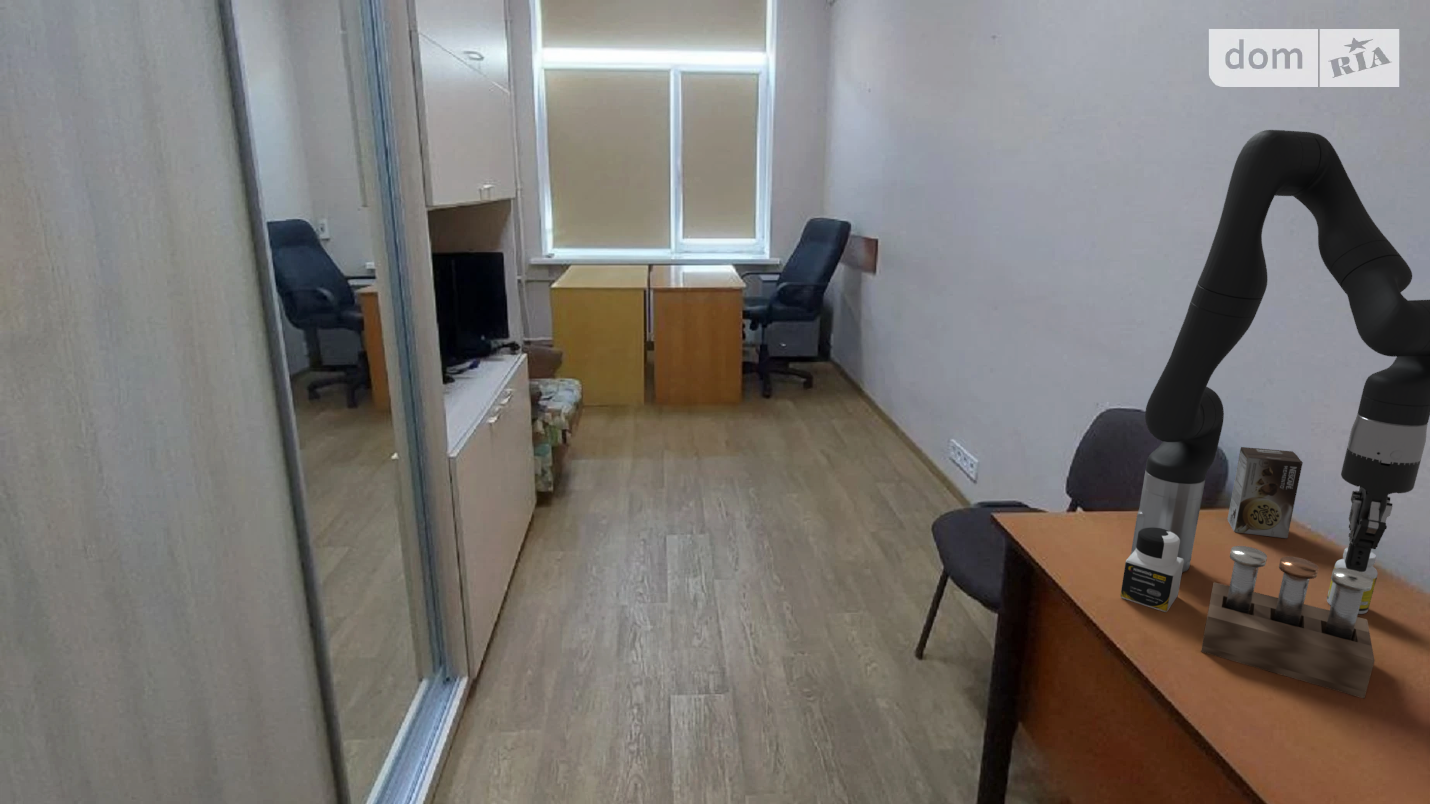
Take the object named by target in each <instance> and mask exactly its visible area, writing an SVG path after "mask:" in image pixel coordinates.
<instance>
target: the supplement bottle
mask: <svg viewBox="0 0 1430 804" xmlns="http://www.w3.org/2000/svg"><path fill="white" fill-rule="evenodd" d="M1347 551H1348V547H1345V548H1344V550H1343V554H1342V558H1341V559H1338V560H1337V561H1335V563H1334V567H1333V569H1335V568H1346V564H1345V560H1346V555H1347ZM1376 560H1377V555H1376V554H1375V553H1374V552H1373V551H1371V553H1370V557H1369V560H1368V564H1367V568H1366V571H1364V572H1363V573H1365V574H1367V575H1369V576H1370V577H1371V578H1372V579H1373V584H1372V588H1371V590H1369V591H1364V592H1363V595H1362V599H1361V603H1360V607H1359V611H1358V615H1363V614H1366V613H1367V612H1368V611H1369V608H1370V605H1371V601H1372V598H1373V594H1374V590H1375V586H1376V582H1377V579H1378V575H1379V574H1378V570H1377V569H1376V568H1375V567H1374V565H1375V564H1376ZM1335 587H1336V584H1335V583H1334V582H1333V581H1332V580H1331V579H1330V584H1329V588H1328V593H1327V596H1326V601H1327V603H1328V605H1330V606H1331V603H1332V599H1333V595H1334V591H1335Z"/></svg>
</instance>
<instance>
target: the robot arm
mask: <svg viewBox="0 0 1430 804" xmlns="http://www.w3.org/2000/svg"><path fill="white" fill-rule="evenodd" d="M1276 196H1277V197H1279V196H1280V197H1294V198H1295V199H1296V200H1298V201H1299V202H1300V203H1301V204H1302V205H1303V206H1304V207H1305V208H1306V209H1307V210H1308V211H1309V212H1310V213H1311V215H1312V216H1313V218H1314V220H1315V221H1316V222H1315V223H1316V225H1317V242H1318V243H1317V244H1318V251H1319V254H1320V257H1321V260H1322V263H1323V264H1324V266H1325V267H1326V269H1327V270H1328V271H1329V273H1330V274H1331V276H1332V277H1333V278H1334V280H1335V281H1336V282H1337V284H1338V285H1339V286H1340V288H1341V290H1342V291H1343V292H1344V293H1345V294H1346V295H1347V299H1348V302H1349V308H1350V311H1351V314H1352V318H1353V320H1354V324H1355V326H1356V330H1357V333H1358V335H1359V338H1360V339H1361V341H1362V342H1363V343H1364V344H1365V345H1366V346H1367V347H1369V348H1370V349H1371V350H1373V351H1374V352H1375V353H1377V354H1380V355H1382V356H1387V357H1395V360H1394V361H1393V363H1392V364H1391V365H1390V366H1389V367H1387V368H1385V369H1382V370H1379V371H1377V372H1374V373H1372V374H1370V375H1368V377H1367V379H1366V380H1365V382H1364V385H1363V389H1362V393H1361V397H1360V400H1359V401H1360V402H1359V406H1358V411H1357V414H1356V417H1355V420H1354V421H1353V424H1352V427H1351V431H1350V433H1349V438H1348V442H1347V446H1346V450H1345V455H1344V460H1343V463H1342V467H1341V472H1340V476H1341V479H1343V480H1344V481H1345V482H1346V483H1349V484H1350V485H1352V486H1355V487H1357V488H1358V487H1359V488H1358V489H1359V490H1352V491H1351V496H1350V502H1351V506H1350V511H1349V517H1348V522H1349V524H1348V528H1349V531H1350V532H1348V537H1349V543H1348V547H1347V548H1348V551H1347V555H1346V560H1345V564H1346V568H1348V569H1350V570H1355V571H1360V572H1364V571H1366V568H1367V564H1368V560H1369V557H1370V553H1371V552H1372V550H1377V548H1378V546H1379V543H1380V541H1381V539H1382V538H1383V535H1384V533H1385V531H1386V530H1387V529H1388V528H1387V527H1388V526H1387V519H1388V518H1389V517H1390V516H1391V514H1392V510H1393V503H1392V502H1391V496H1389V495H1392V494H1406V493H1409V492H1411V491H1412V490H1414V488H1415V484H1416V480H1417V477H1418V473H1419V470H1420V464H1421V461H1422V458H1423V454H1424V449H1425V446H1426V442H1427V441H1426V440H1427V429H1428V423H1429V421H1430V299H1414V300H1410V299H1409V300H1408V299H1407V298H1406V297H1405V296H1403V294H1402V292H1403V291H1404V290H1406V289H1407V288H1408V287H1409V285H1411V282H1412V280H1413V271H1412V269H1411V268H1410V266H1409V265H1408V263H1407V262H1406V260H1405V259H1404V258H1403V257H1402V256H1401V254H1400V253H1399V252H1398V251H1397V249H1396V248H1395V247H1394V246H1393V244H1392V243H1391V241H1389V240H1388V239H1387V237H1386V236H1385V235H1384V234H1383V232H1382V231H1381V230H1380V229H1379V227H1378V226H1377V224H1375V222H1374V220H1373V219H1372V218H1371V216H1370V214H1369V212H1368V210H1367V209H1366V208H1365V205H1364V204H1363V202H1362V201H1361V198H1360V196H1359V195H1358V192H1357V191H1356V189H1355V187H1354V185H1353V183H1352V181H1351V179H1350V177H1349V175H1348V173H1347V171H1346V168H1345V167H1344V164H1343V163H1342V160H1341V159H1340V157H1339V155H1338V152H1337V151H1336V150H1335V148H1334V146H1333V144H1332V143H1331V142H1330V141H1329V140H1328V139H1327V138H1326V137H1325V136H1323V135H1322V134H1319V133H1315V132H1310V131H1295V130H1283V129H1266V130H1262V131H1259V132H1257V133H1255V134H1254V135H1252V136H1251V137H1250V138H1249V139H1248V140H1247V141H1246V142H1245V144H1244V145H1243V146H1242V148H1241V150H1240V152H1239V154H1238V155H1237V158H1236V161H1235V163H1234V167H1233V169H1232V172H1231V176H1230V180H1229V185H1228V187H1227V193H1226V196H1225V199H1224V200H1225V201H1224V204H1223V208H1222V211H1221V215H1220V219H1219V223H1218V226H1217V230H1216V231H1215V235H1214V238H1213V241H1212V243H1211V247H1210V250H1209V252H1208V256H1207V258H1206V261H1205V264H1204V266H1203V269H1202V271H1201V273H1200V276H1199V278H1198V280H1197V283H1196V286H1195V289H1194V292H1193V294H1192V297H1191V299H1190V302H1189V306H1188V309H1187V311H1186V312H1187V313H1186V315H1185V317H1184V320H1183V323H1182V326H1181V327H1180V331H1179V332H1178V335H1177V338H1176V341H1175V342H1174V346H1173V348H1172V352H1171V354H1170V356H1169V359H1168V361H1167V363H1166V365H1165V367H1164V369H1163V371H1162V373H1161V375H1160V377H1159V379H1158V381H1157V383H1156V384H1155V386H1154V387H1153V390H1152V392H1151V394H1150V396H1149V398H1148V401H1147V403H1146V407H1145V413H1144V418H1145V424H1146V426H1147V429H1148V431H1149V433H1150V434H1151V436H1153V437H1154V438H1155V439H1157V440H1159V441H1160V442H1161V443H1160V444H1159V445H1158V447H1157V448H1156V449H1154V450H1153V451H1152V452H1151V453H1150V454H1149V455H1148V457H1147V459H1146V466H1145V471H1144V472H1145V473H1144V478H1143V483H1142V484H1143V485H1142V490H1141V496H1140V503H1139V509H1138V511H1137V513H1136V518H1135V519H1136V520H1135V526H1134V532H1133V539H1132V545H1131V552H1130V555H1131V554H1132V553H1133V552H1134V551H1135V549H1136V544H1137V537H1138V532H1139V531H1140V530H1141V529H1143V528H1150V527H1155V528H1162V529H1165V530H1168V531H1170V532H1172V533H1174V534H1176V535H1177V536H1178V537H1179V539H1180V544H1179V550H1178V556H1177V557H1179V558H1183V559H1184V564H1183V569H1182V573H1185V572H1187V571H1188V570H1189V568H1190V565H1191V560H1192V554H1193V548H1194V544H1195V537H1196V533H1197V526H1198V523H1199V515H1200V511H1201V505H1202V500H1203V493H1204V487H1205V483H1206V478H1207V473H1208V470H1209V469H1210V468H1211V467H1212V466H1213V465H1212V464H1213V463H1214V461H1215V458H1216V456H1217V452H1218V446H1219V441H1220V438H1221V433H1222V429H1223V426H1224V418H1225V417H1224V415H1225V413H1224V405H1223V402H1222V399H1221V398H1220V396H1219V395H1218V393H1217V392H1216V391H1215V390H1213V389H1211V387H1208V386H1207V385H1208V384H1209V381H1210V379H1211V377H1212V375H1213V373H1214V372H1215V370H1216V369H1217V367H1218V366H1219V365H1220V364H1221V362H1222V361H1223V360H1224V359H1225V358H1226V357H1227V356H1228V354H1229V353H1230V352H1231V350H1233V349H1234V347H1235V346H1236V345H1237V344H1238V342H1240V340H1241V339H1242V338H1243V337H1244V335H1245V334H1246V333H1247V331H1248V330H1249V328H1250V327H1251V325H1252V323H1253V321H1254V320H1255V318H1256V315H1257V313H1258V310H1259V308H1260V305H1261V303H1262V300H1263V298H1264V295H1265V293H1266V291H1267V290H1266V289H1267V287H1268V268H1267V264H1266V258H1265V254H1264V247H1263V239H1262V234H1263V228H1264V224H1265V221H1266V219H1267V216H1268V212H1269V209H1270V207H1271V204H1272V202H1273V200H1274V198H1275V197H1276Z"/></svg>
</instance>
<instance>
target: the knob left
mask: <svg viewBox="0 0 1430 804" xmlns="http://www.w3.org/2000/svg"><path fill="white" fill-rule="evenodd" d="M1267 555H1268V554H1266V553H1265V552H1264V551H1262V550H1260V549H1258V548H1255V547H1252V546H1246V545H1234V546H1232V547H1231V548H1230V553H1229V558H1230V559H1231V560H1232V561H1233V568H1232V572H1231V578H1230V583H1229V586H1230V587H1229V592H1228V597H1227V602H1226V607H1225V608H1226V609H1230V610H1234V611H1238V612H1242V613H1246V614H1249V611H1250V607H1251V602H1252V597H1253V592H1255V587H1256V582H1257V578H1258V577H1257V576H1258V573H1259V569H1260V568H1263V567H1265V566H1266V564H1267V558H1268V556H1267Z"/></svg>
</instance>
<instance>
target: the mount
mask: <svg viewBox="0 0 1430 804" xmlns="http://www.w3.org/2000/svg"><path fill="white" fill-rule="evenodd" d="M1229 587H1230V585H1227V584H1222V583H1217V582H1216V581H1215V582H1213V585H1212V590H1211V594H1210V599H1209V600H1210V601H1209V605H1208V609H1207V614H1206V615H1207V616H1206V621H1205V627H1204V632H1203V633H1204V634H1203V636H1202V637H1203V638H1202V644H1201V649H1200V652H1202V653H1205V654H1208V655H1212V656H1215V657H1219V658H1222V659H1226V660H1229V661H1232V662H1236V663H1239V664H1242V665H1247V666H1249V667H1254V668H1256V669H1260V670H1264V671H1267V672H1271V673H1275V674H1278V675H1281V676H1284V677H1289V678H1292V679H1295V680H1298V681H1303V682H1306V683H1309V684H1313V685H1317V686H1319V687H1323V688H1326V689H1329V690H1332V691H1337V692H1340V693H1344V694H1348V695H1350V696H1354V697H1358V698H1361V699H1365V697H1366V693H1367V690H1368V686H1369V682H1370V679H1371V676H1372V675H1371V674H1372V671H1373V667H1374V664H1375V655H1374V651H1373V650H1374V649H1373V645H1372V639H1371V638H1372V637H1371V635H1370V634H1371V633H1370V628H1369V623H1368V619H1366V618H1363V617H1358V616H1357V619H1356V623H1355V627H1354V631H1353V635H1352V638H1351V640H1347V639H1343V638H1339V637H1335V636H1331V635H1327V634H1324V632H1325V628H1326V624H1327V620H1328V616H1329V612H1330V609H1325V608H1321V607H1319V606H1318V607H1317V606H1314V605H1309V604H1305V603H1304V605H1303V609H1302V614H1301V618H1300V622H1299V627H1296V626H1292V625H1289V624H1285V623H1281V622H1277V621H1273V619H1274V615H1275V610H1276V606H1277V601H1278V596H1277V597H1276V596H1273V595H1268V594H1263V593H1260V592H1255V591H1254V592H1253V597H1252V602H1251V607H1250V611H1249V614H1246V613H1242V612H1238V611H1234V610H1230V609H1226V608H1225V607H1226V602H1227V597H1228V592H1229Z"/></svg>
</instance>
